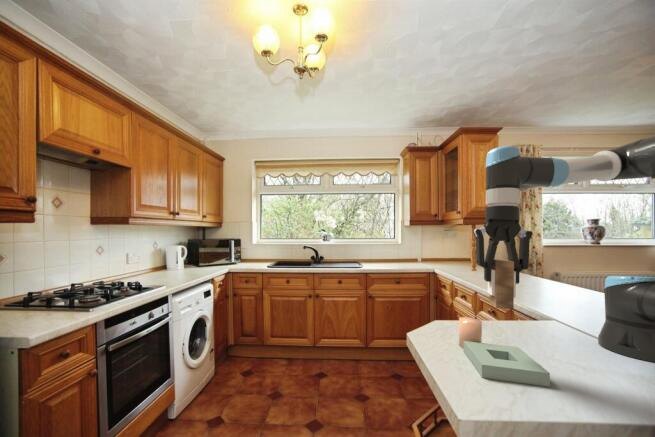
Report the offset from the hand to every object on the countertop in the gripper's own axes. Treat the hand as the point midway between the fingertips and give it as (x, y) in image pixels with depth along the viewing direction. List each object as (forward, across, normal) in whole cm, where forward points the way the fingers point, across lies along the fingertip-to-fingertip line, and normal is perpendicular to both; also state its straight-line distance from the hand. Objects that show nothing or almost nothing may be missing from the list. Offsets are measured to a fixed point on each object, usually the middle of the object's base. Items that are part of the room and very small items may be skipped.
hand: (501, 295), depth 68 cm
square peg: (+3, 0, 0) cm, 3 cm away
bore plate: (+18, 0, 0) cm, 18 cm away
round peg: (+18, +4, -11) cm, 22 cm away
